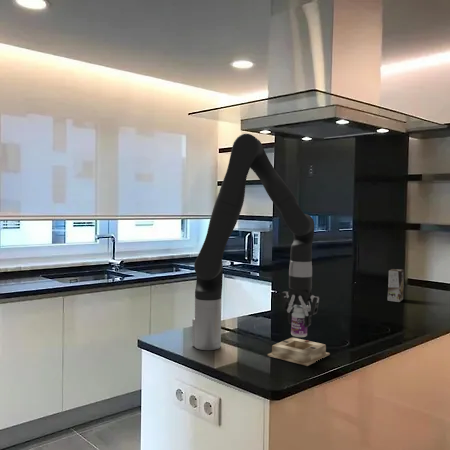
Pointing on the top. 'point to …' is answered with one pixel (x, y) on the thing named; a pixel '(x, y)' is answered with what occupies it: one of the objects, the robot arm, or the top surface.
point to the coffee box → (395, 285)
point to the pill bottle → (298, 322)
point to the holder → (299, 351)
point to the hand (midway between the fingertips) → (299, 324)
